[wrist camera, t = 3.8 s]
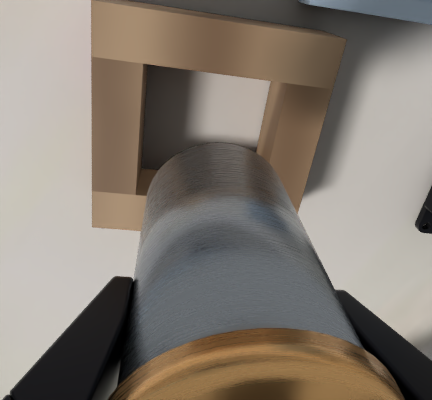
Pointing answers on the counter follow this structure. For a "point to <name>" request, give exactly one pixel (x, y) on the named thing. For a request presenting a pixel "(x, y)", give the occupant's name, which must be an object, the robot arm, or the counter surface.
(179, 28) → the brown square frame
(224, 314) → the pin
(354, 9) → the tray
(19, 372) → the counter surface
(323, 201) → the counter surface
